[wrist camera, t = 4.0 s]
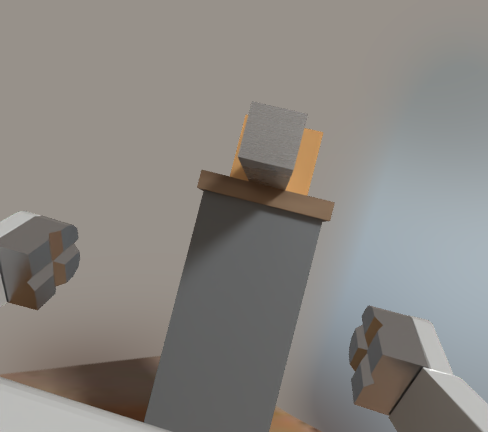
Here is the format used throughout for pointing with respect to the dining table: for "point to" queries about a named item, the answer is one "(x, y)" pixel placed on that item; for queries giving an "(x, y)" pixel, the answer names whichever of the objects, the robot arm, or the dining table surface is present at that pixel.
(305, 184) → the bar
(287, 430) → the dining table surface
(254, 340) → the cabinet stand
